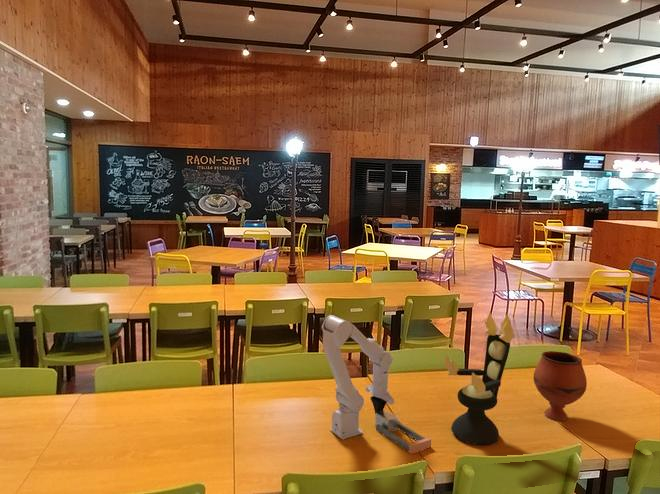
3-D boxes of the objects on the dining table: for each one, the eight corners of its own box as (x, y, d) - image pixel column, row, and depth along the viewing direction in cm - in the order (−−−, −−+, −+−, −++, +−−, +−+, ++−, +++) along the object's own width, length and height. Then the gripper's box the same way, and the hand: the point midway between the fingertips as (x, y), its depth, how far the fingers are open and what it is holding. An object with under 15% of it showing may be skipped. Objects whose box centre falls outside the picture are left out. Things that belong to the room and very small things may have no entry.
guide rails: (411, 454, 173) (412, 445, 172) (376, 429, 189) (376, 422, 188) (430, 447, 177) (431, 439, 177) (394, 424, 194) (394, 416, 193)
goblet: (589, 430, 194) (595, 367, 191) (535, 424, 197) (540, 362, 194) (575, 409, 212) (581, 351, 209) (526, 403, 216) (531, 346, 213)
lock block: (387, 433, 186) (388, 420, 186) (375, 425, 192) (375, 412, 191) (397, 429, 189) (398, 417, 189) (385, 422, 195) (385, 409, 194)
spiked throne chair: (438, 426, 193) (445, 309, 188) (487, 418, 201) (495, 306, 196) (468, 451, 176) (477, 323, 170) (520, 441, 184) (530, 319, 178)
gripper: (401, 385, 189) (399, 420, 190) (376, 372, 201) (375, 405, 202) (386, 389, 185) (384, 425, 187) (362, 376, 197) (360, 409, 199)
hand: (378, 415), depth 194 cm, fingers closed
